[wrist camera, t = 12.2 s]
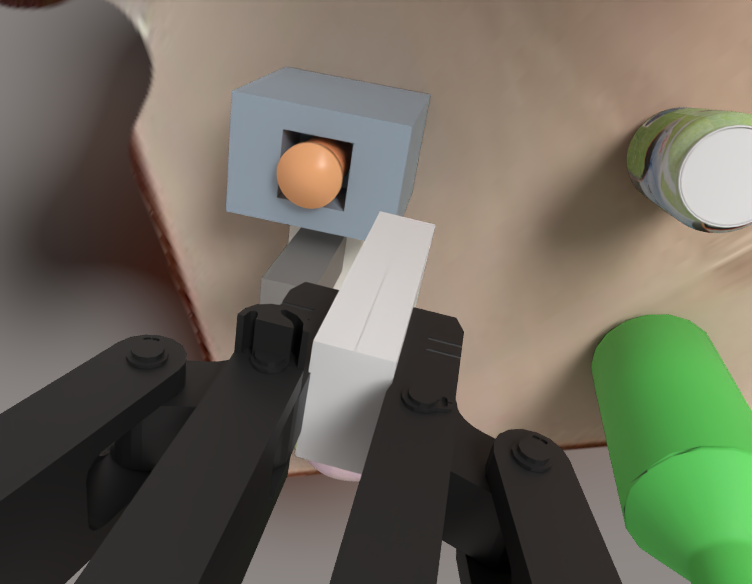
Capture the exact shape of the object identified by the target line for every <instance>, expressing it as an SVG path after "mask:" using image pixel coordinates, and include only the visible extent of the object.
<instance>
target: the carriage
mask: <svg viewBox="0 0 752 584" xmlns="http://www.w3.org/2000/svg"><path fill="white" fill-rule="evenodd" d="M363 243H364V241H363V240H359V239H354V238H349V237H344V236H340V235H335V234H330V233H326V232H321V231H316V230H311V229H307V228H302V227H297V226H293V225H290V230H289V240H288V245H287V246H286V247H285V249H284V250H283V251H282V252H281V254H280V255H279V256H278V258H277V259H276V260H275V261H274V263H273V264H272V265H271V267H270V268H269V269H268V270H267V272H266V273H265V274H264V276H263V277H262V279H261V291H260V303H259V304H277V305H280V304H282V301H283V299H284V298H285V296H286V295H287V293H288V292H289V290H290V289H292V288H294V287H296V286H298V285H300V284H302V283H304V282H309V283H313V284H317V285H321V286H325V287H329V288H333V289H337V290H340V288H341V286H342V284H343V282H344V280H345V278H346V276H347V274H348V272H349V271H350V269H351V267H352V265H353V263H354V261H355V259H356V257H357V255H358V253H359V251H360V249H361V247H362V245H363Z"/></svg>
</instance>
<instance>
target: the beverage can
mask: <svg viewBox="0 0 752 584" xmlns="http://www.w3.org/2000/svg"><path fill="white" fill-rule="evenodd" d="M627 169H628V173H629V176H630V178H631V181H632V183H633V184H634V185H635V187H636V188H637V189H638V190H639V191H640V192H641V193H642V194H643V195H644V196H646V197H647V198H648V199H650V200H651V201H653V202H654V203H655V204H657V205H658V206H659V207H661V208H662V209H663V210H665V211H666V212H667V213H669V214H670V215H672V216H673V217H674V218H676V219H677V220H678V221H680V222H681V223H683V224H685V225H686V226H688V227H691V228H693V229H695V230H699V231H703V232H708V233H724V232H731V231H735V230H739V229H742V228H744V227H747V226H749V225H751V224H752V115H751V114H746V113H741V112H733V111H722V110H711V109H700V108H689V107H679V108H672V109H668V110H665V111H662V112H660V113H658V114H656V115H654V116H652V117H651V118H650V119H648V120H647V121H646V122H645V123H644V124H643V125H642V126H641V127H640V128H639V129H638V130H637V132H636V133H635V134H634V136H633V138H632V140H631V142H630V145H629V148H628V153H627Z"/></svg>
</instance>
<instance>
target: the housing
mask: <svg viewBox="0 0 752 584" xmlns="http://www.w3.org/2000/svg"><path fill="white" fill-rule="evenodd" d="M429 101H430V94H425V93H420V92H415V91H409V90H404V89H399V88H394V87H389V86H383V85H378V84H373V83H368V82H363V81H357V80H352V79H347V78H342V77H336V76H331V75H326V74H321V73H316V72H310V71H305V70H300V69H295V68H290V67H284V68H282V69H280V70H278V71H275V72H273V73H271V74H269V75H266V76H264V77H262V78H260V79H257V80H255V81H253V82H251V83H249V84H246V85H244V86H242V87H240V88H237V89H235V90H233V91H232V99H231V119H230V139H229V159H228V179H227V199H226V211H227V212H232V213H236V214H241V215H246V216H250V217H255V218H260V219H264V220H269V221H274V222H279V223H283V224H288V225H293V226H297V227H302V228H307V229H311V230H316V231H321V232H326V233H330V234H335V235H340V236H344V237H349V238H354V239H359V240H363V241H365V239H366V238H367V236H368V234H369V232H370V230H371V228H372V226H373V224H374V222H375V220H376V218H377V216H378V214H379V212H380V211H381V212H385V213H390V214H394V215H398V216H402V217H403V215H404V212H405V210H406V207H407V205H408V202H409V200H410V197H411V195H412V191H413V186H414V180H415V175H416V170H417V164H418V159H419V154H420V148H421V143H422V138H423V132H424V127H425V122H426V117H427V111H428V106H429ZM313 135H315V136H320V137H325V138H330V139H335V140H340V141H345V142H350V143H351V145H352V148H353V151H352V158H351V165H350V169H349V171H348V172H347V173H346V175H345V176H344V177H343V183H342V186H341V189H340V191H339V193H338V194H337V195H336V197H335V198H334V199H333V200H332V201H331V202H330V203H329V204H327V205H325V206H323V207H320V208H315V209H308V208H303V207H300V206H297V205H296V204H294V203H292V202H291V201H290V200H289V199H287V198H286V196H285V195H284V194H283V192H282V191H281V189H280V187H279V184H278V181H277V166H278V163H279V160H280V158H281V157H282V155H283V154H284V153H285V152H286V151H287V150H288V149H290V148H291V147H292V146H294V145H296V144H298V143H301V142H306V141H307V140H308V139H310V138H311V137H312V136H313Z"/></svg>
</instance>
